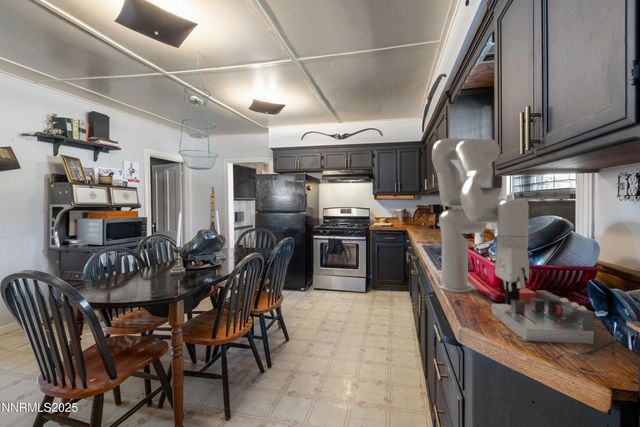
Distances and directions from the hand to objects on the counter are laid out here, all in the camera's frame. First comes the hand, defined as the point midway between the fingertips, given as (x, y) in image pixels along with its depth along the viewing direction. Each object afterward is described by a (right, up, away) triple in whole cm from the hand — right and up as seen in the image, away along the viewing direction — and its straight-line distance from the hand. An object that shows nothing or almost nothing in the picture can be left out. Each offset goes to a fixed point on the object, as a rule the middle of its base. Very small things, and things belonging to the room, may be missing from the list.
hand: (512, 303), depth 85 cm
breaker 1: (0, -1, -3) cm, 3 cm away
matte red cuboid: (+8, -4, +8) cm, 12 cm away
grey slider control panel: (+3, -4, -6) cm, 8 cm away
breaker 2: (+6, -1, -2) cm, 6 cm away
